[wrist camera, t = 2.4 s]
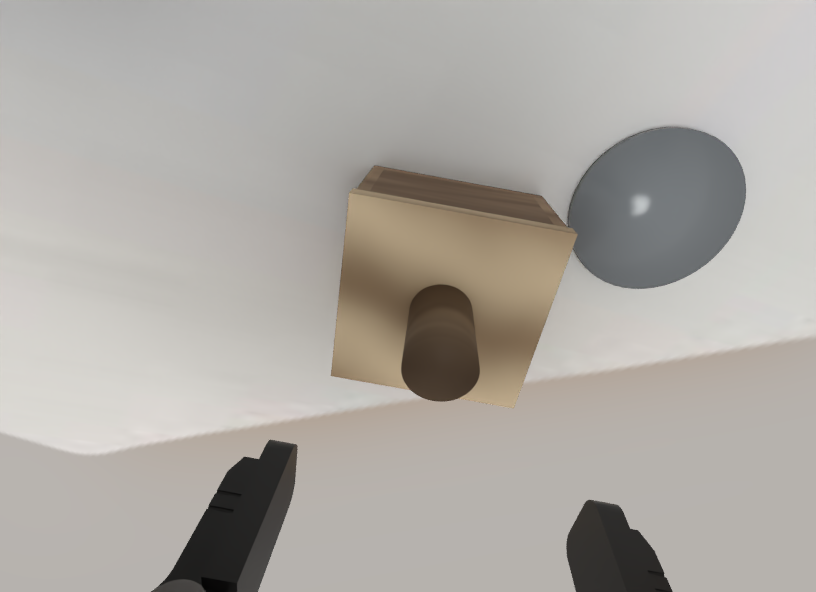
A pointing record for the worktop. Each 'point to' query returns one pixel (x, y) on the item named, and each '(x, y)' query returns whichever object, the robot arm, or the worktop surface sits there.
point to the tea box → (460, 195)
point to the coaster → (657, 207)
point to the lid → (444, 297)
